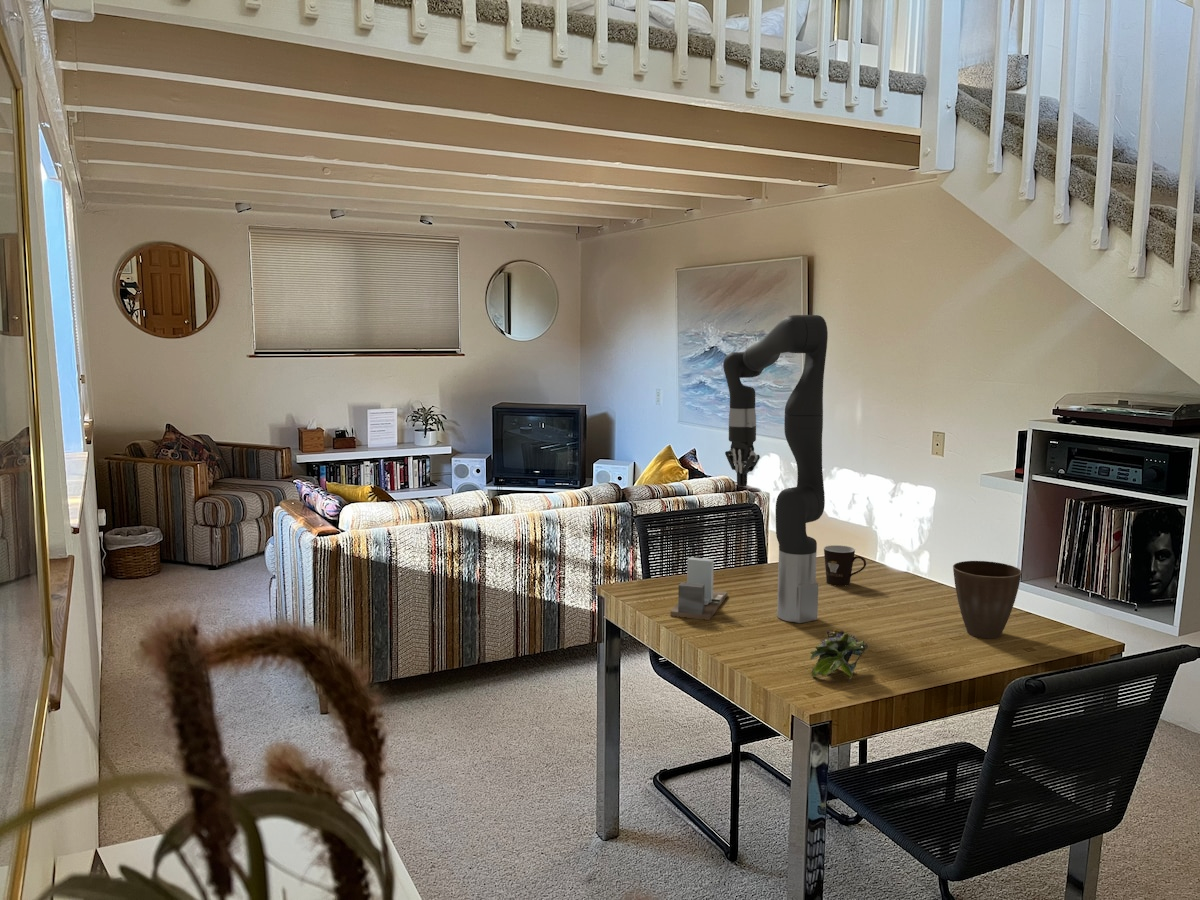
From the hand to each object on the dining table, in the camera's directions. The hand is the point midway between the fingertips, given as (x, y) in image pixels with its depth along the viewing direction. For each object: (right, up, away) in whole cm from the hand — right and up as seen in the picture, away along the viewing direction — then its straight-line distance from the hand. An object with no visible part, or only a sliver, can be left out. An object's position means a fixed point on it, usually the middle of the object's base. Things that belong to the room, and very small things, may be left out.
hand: (742, 486), depth 255 cm
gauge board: (-13, -31, -15) cm, 37 cm away
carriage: (-13, -30, -19) cm, 37 cm away
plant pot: (+52, -34, -37) cm, 72 cm away
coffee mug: (+29, -28, +5) cm, 41 cm away
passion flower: (+11, -37, -64) cm, 75 cm away
